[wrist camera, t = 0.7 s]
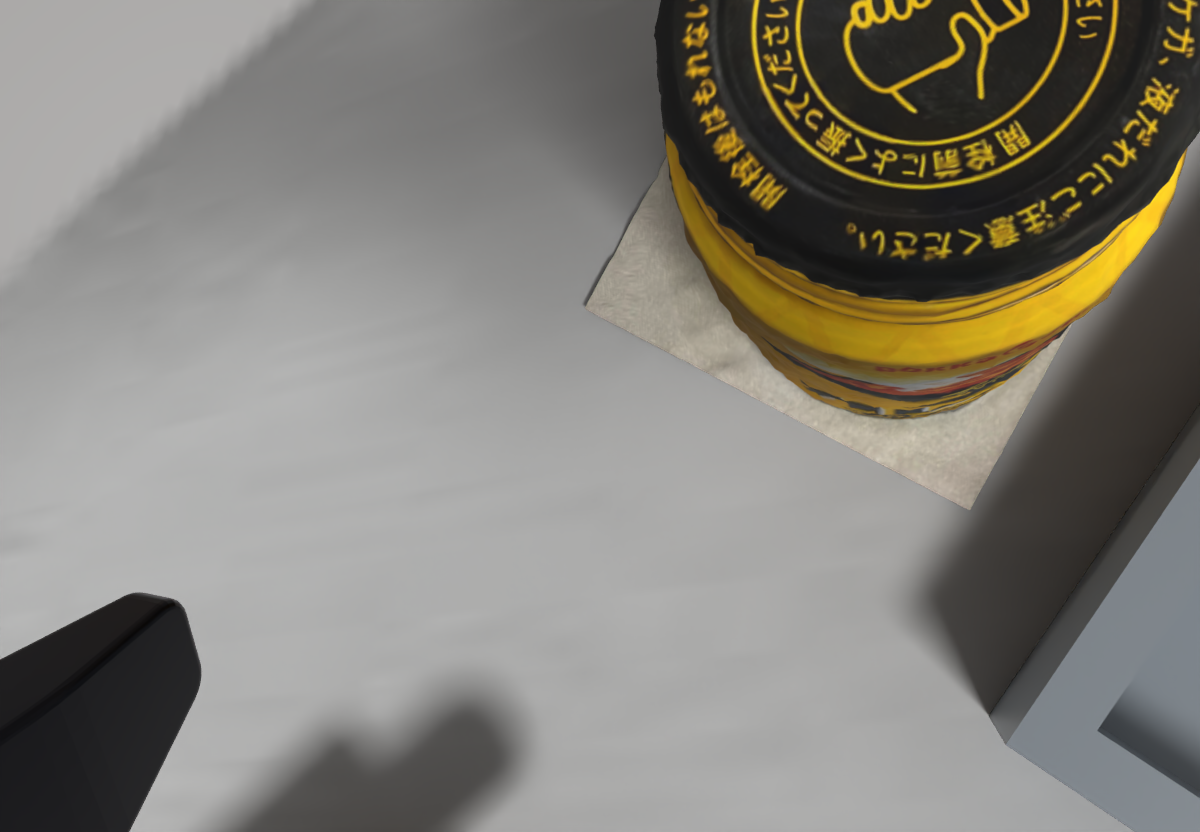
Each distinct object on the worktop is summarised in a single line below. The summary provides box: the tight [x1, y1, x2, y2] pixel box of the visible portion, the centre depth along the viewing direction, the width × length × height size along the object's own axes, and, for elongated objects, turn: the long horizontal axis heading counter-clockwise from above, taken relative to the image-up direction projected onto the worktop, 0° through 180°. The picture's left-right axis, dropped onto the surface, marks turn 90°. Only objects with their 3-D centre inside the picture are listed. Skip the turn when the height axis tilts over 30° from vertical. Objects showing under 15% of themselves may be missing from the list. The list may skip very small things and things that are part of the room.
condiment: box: [585, 0, 1200, 510], centre depth 16 cm, size 7×8×12 cm
